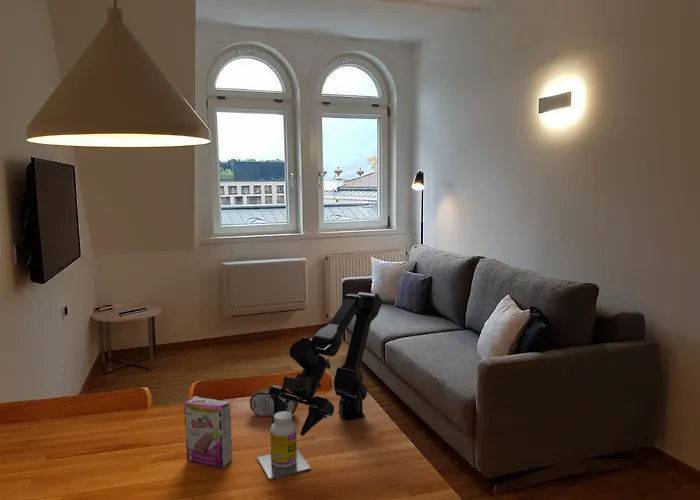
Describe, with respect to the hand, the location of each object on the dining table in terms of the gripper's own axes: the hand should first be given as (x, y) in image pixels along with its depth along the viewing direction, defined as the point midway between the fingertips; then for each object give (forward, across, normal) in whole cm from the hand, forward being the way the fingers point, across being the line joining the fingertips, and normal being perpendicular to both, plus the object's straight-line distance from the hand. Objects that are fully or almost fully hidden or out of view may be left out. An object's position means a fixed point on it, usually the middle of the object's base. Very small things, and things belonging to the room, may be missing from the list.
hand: (287, 430), depth 137 cm
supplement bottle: (+7, 0, +4) cm, 8 cm away
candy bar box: (+14, -18, -2) cm, 22 cm away
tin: (-6, -20, +19) cm, 29 cm away
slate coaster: (+7, 0, +4) cm, 9 cm away
